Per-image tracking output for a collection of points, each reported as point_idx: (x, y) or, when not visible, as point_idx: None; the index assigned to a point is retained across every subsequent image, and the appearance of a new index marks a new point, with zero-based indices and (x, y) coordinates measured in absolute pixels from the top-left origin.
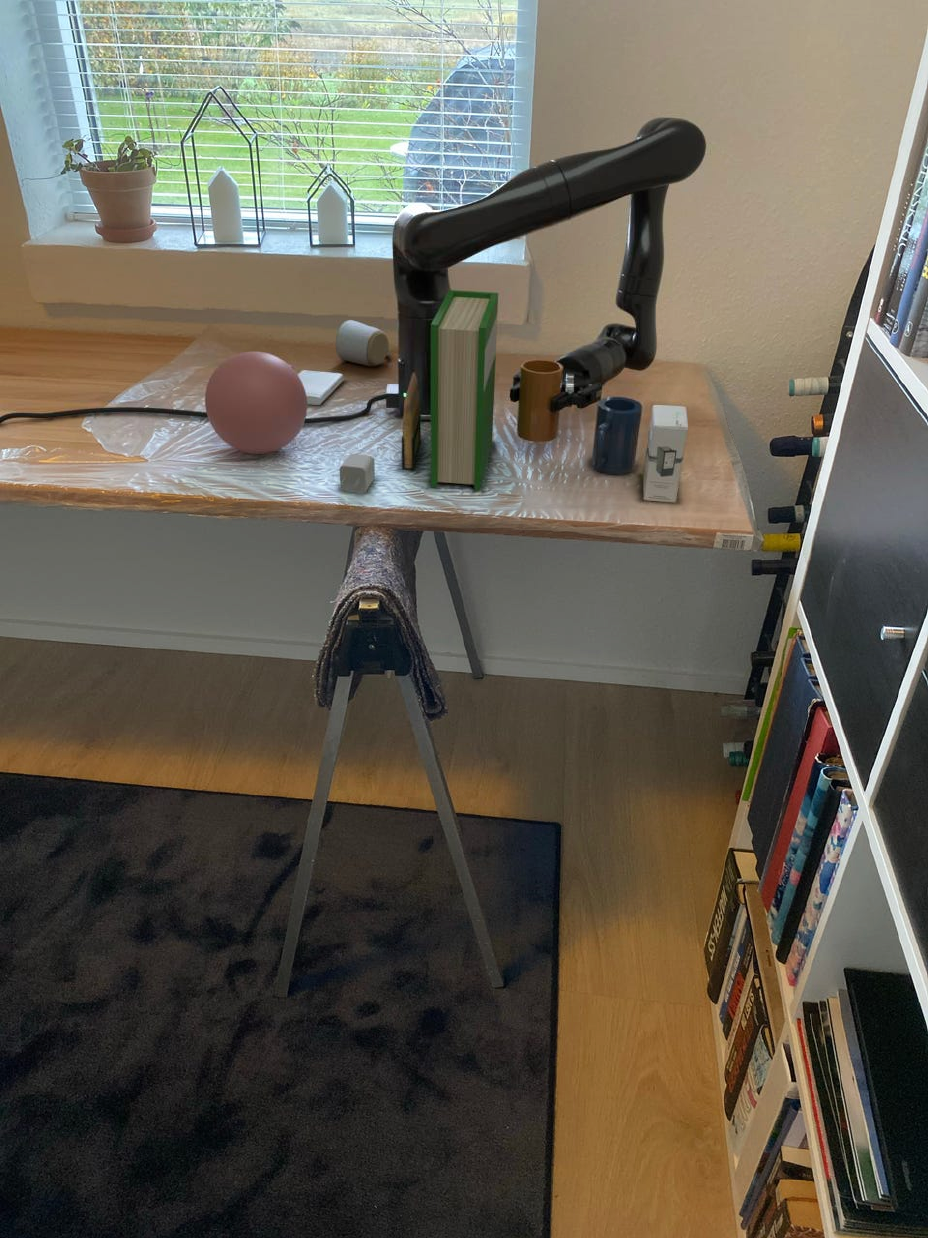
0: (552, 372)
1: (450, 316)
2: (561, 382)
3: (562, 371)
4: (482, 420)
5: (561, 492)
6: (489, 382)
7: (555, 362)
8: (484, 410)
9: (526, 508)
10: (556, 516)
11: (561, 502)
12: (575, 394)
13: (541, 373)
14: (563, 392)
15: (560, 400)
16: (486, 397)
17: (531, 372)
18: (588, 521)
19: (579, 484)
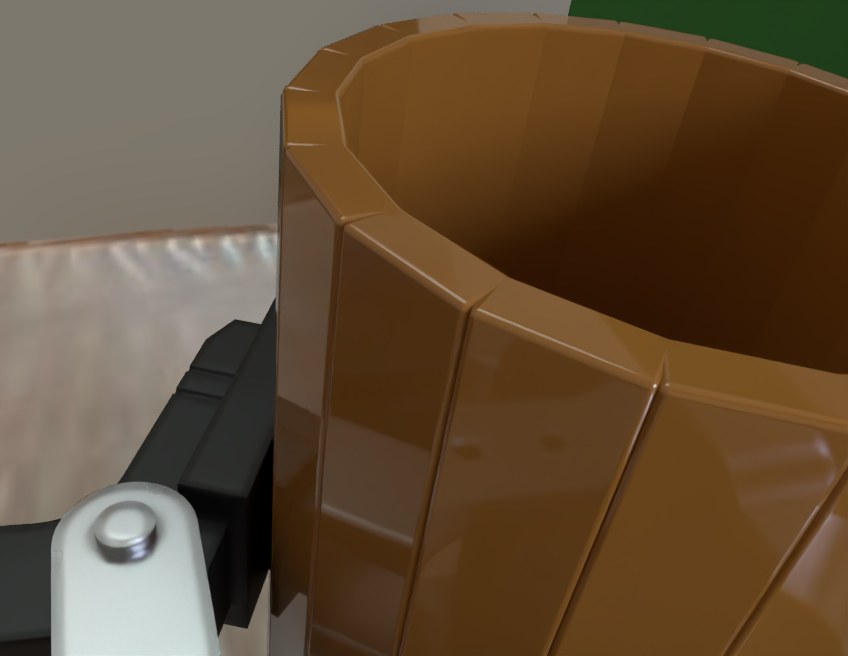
0: (396, 28)
1: None
2: (275, 347)
3: (280, 175)
4: (569, 10)
5: (138, 399)
6: (824, 19)
7: (605, 326)
8: (617, 16)
9: (269, 274)
10: (140, 254)
11: (129, 331)
12: (19, 592)
13: (519, 15)
14: (227, 472)
15: (230, 348)
16: (685, 2)
17: (649, 33)
18: (3, 250)
19: (35, 496)
